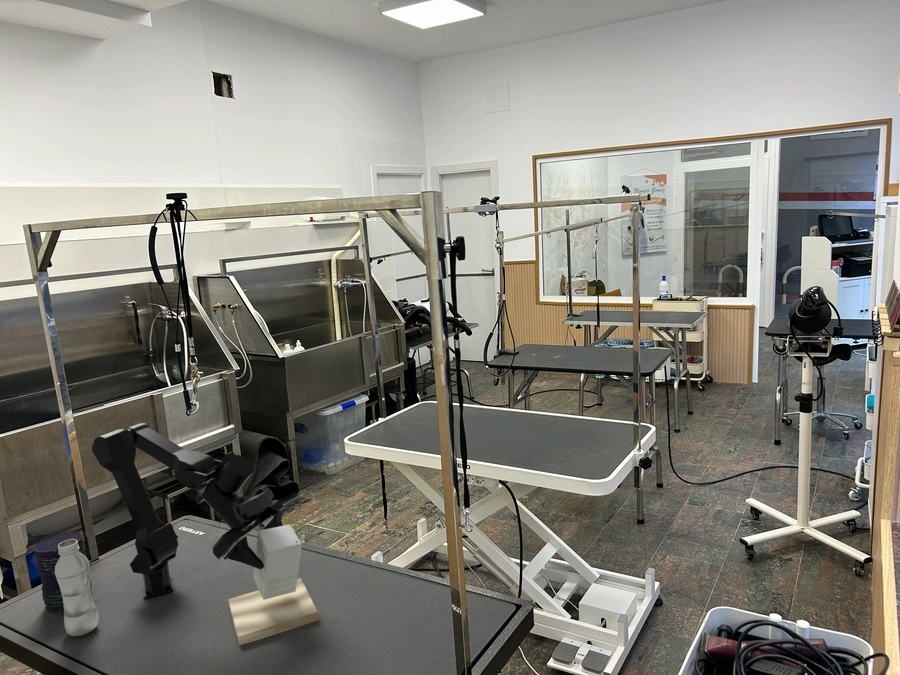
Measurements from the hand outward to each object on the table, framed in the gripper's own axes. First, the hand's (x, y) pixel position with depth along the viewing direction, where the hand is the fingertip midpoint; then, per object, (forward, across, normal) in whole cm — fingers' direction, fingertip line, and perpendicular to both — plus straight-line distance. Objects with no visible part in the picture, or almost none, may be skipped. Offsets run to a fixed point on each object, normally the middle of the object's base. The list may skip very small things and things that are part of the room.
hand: (276, 556), depth 140 cm
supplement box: (+4, 0, +6) cm, 7 cm away
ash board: (+8, -2, +9) cm, 12 cm away
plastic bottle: (-18, -17, +36) cm, 44 cm away
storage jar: (-28, -8, +47) cm, 55 cm away
